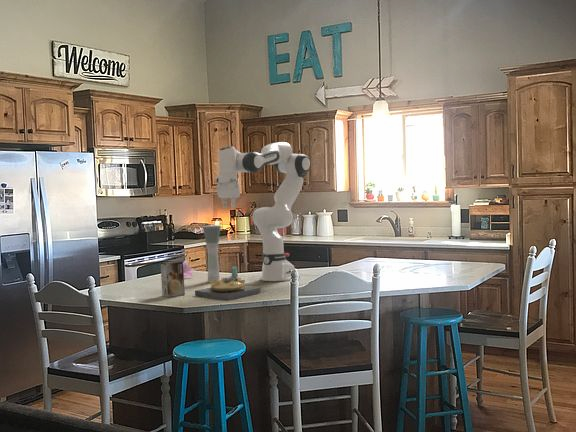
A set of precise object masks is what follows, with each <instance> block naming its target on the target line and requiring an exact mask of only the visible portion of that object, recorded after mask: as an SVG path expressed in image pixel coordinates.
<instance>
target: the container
mask: <svg viewBox="0 0 576 432" xmlns="http://www.w3.org/2000/svg"><path fill="white" fill-rule="evenodd" d="M221 228H222V227H221V225H219V224H218V225H204V226H202V230H203V234H204V238H205V245H206V251H207V280H206V281H207V283H210V281H211V280H216V281H219V280H221V278H220V267H219V254H218V252H219V243H220V234H221ZM210 284H211V283H210Z"/></svg>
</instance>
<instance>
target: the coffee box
mask: <svg viewBox="0 0 576 432" xmlns="http://www.w3.org/2000/svg"><path fill="white" fill-rule="evenodd" d="M183 263H184V261H179V260H174V261H167V262H166V261H165V262H160V277H161V294H162V297H165V298H170V297H171V298H172V297H177V296H185V294H186V293H185V291H186V290H185V279H184V273H183Z"/></svg>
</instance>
